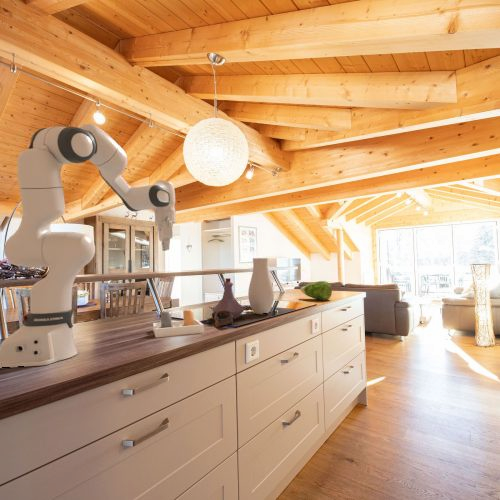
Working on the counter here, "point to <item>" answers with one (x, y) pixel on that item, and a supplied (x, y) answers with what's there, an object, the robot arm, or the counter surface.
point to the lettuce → (318, 290)
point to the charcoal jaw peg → (166, 319)
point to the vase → (260, 287)
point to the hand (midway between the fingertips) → (165, 250)
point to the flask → (229, 301)
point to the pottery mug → (222, 317)
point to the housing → (177, 329)
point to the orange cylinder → (188, 317)
